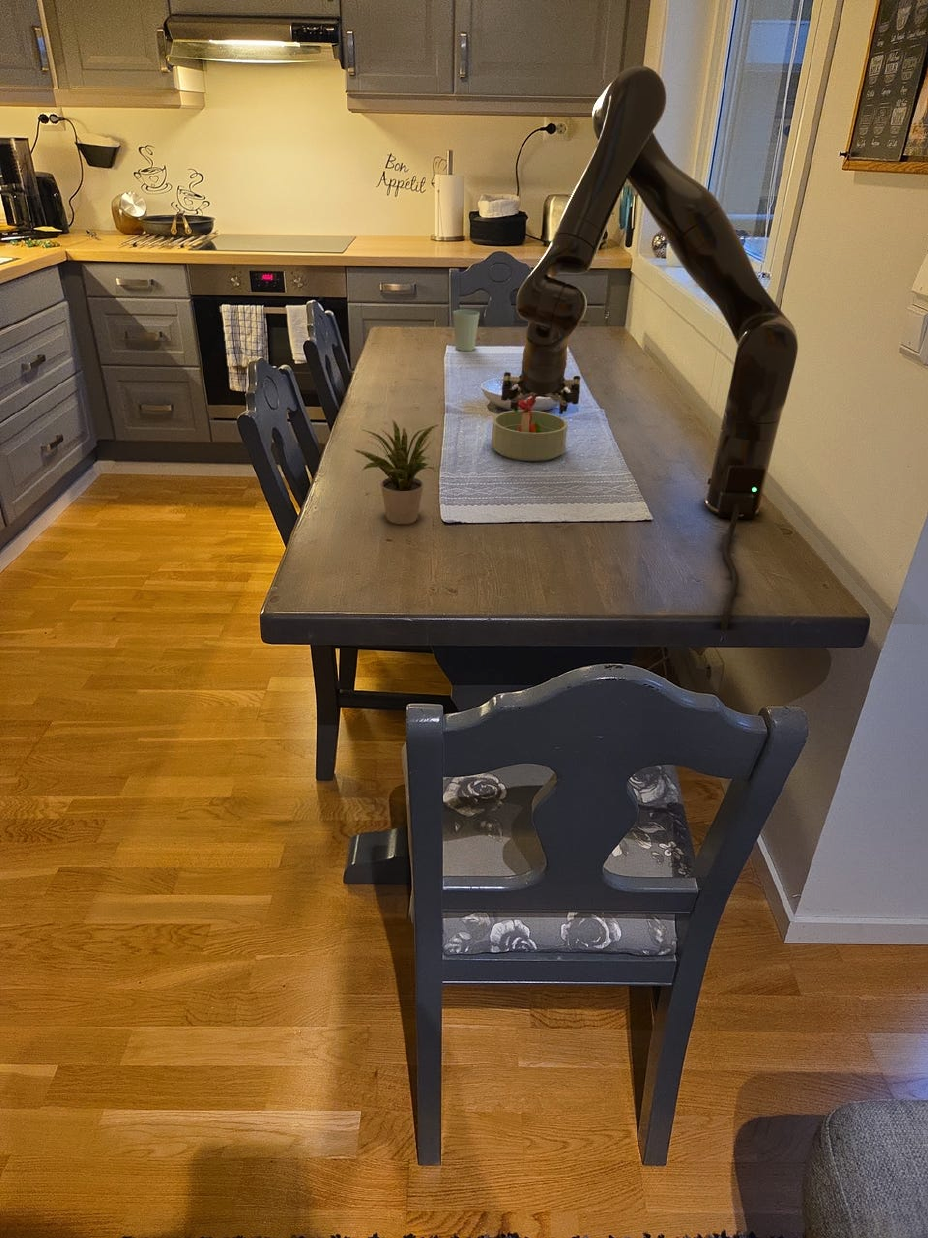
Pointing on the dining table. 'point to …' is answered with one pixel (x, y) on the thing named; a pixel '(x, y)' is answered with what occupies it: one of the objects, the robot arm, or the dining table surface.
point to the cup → (465, 329)
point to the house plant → (401, 475)
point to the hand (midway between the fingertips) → (538, 408)
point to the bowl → (529, 436)
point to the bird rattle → (528, 417)
